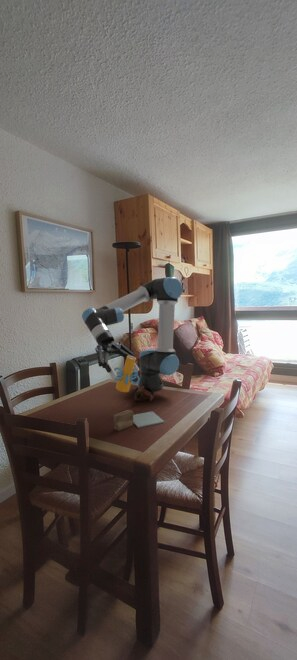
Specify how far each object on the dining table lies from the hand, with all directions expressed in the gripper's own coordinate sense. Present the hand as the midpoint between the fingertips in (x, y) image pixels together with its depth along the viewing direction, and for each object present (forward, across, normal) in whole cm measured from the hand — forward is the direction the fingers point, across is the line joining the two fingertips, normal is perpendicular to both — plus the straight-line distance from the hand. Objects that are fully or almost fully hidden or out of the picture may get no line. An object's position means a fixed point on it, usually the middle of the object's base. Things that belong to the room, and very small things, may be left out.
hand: (126, 374), depth 127 cm
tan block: (+17, +5, -13) cm, 22 cm away
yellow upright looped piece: (+3, +1, -6) cm, 7 cm away
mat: (+18, -6, -12) cm, 22 cm away
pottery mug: (+4, -24, -27) cm, 36 cm away
